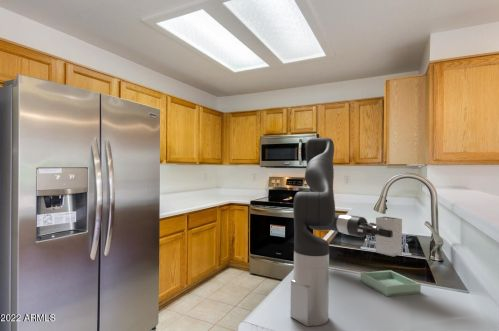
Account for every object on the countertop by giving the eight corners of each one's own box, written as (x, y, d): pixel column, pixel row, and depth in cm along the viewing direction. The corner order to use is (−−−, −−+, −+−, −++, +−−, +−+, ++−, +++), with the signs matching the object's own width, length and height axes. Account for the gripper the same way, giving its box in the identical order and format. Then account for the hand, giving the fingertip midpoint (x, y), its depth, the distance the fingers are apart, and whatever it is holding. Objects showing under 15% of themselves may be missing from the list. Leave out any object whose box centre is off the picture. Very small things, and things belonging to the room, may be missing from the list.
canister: (393, 256, 90) (393, 220, 91) (375, 252, 95) (376, 217, 95) (401, 253, 94) (401, 218, 94) (384, 249, 99) (384, 216, 99)
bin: (387, 296, 86) (387, 287, 86) (360, 281, 99) (360, 272, 99) (420, 293, 89) (420, 283, 89) (390, 278, 102) (390, 270, 102)
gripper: (340, 216, 102) (385, 224, 89) (362, 214, 111) (406, 220, 97) (340, 237, 102) (385, 247, 88) (361, 233, 110) (405, 241, 97)
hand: (396, 233), depth 93 cm, fingers closed on canister, 6 cm apart
